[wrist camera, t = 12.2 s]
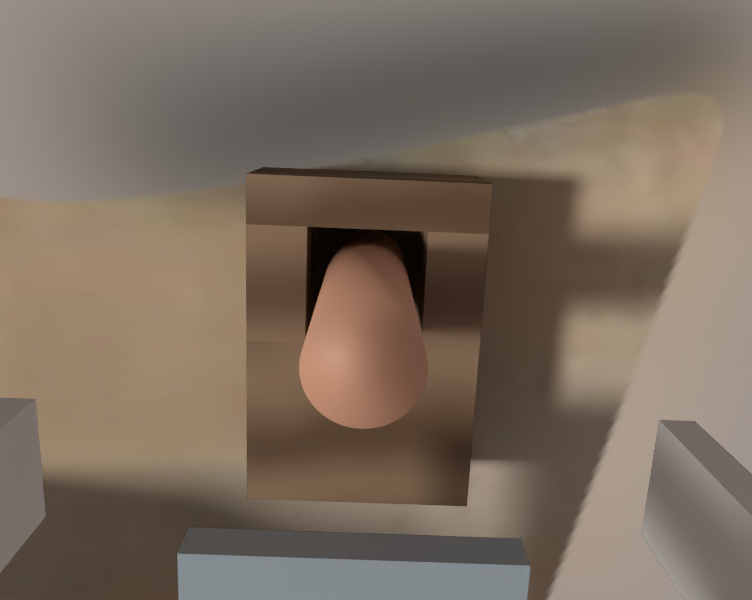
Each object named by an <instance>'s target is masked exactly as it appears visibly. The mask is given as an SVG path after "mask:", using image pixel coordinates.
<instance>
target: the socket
mask: <svg viewBox="0 0 752 600" xmlns="http://www.w3.org/2000/svg"><path fill="white" fill-rule="evenodd" d="M492 191H493V184H492V183H490V182H488V181H486V180H483V179H481V178H479V177H477V176H458V175H435V174H411V173H388V172H364V171H341V170H317V169H294V168H269V167H262V168H260V169H257V170H255V171H252V172H249V173H247V174H246V321H247V498H251V499H279V500H307V501H335V502H363V503H392V504H420V505H448V506H467V496H468V484H469V472H470V460H471V447H472V435H473V423H474V411H475V399H476V386H477V374H478V362H479V350H480V337H481V325H482V313H483V301H484V289H485V276H486V264H487V252H488V240H489V228H490V215H491V203H492ZM316 227H327V228H351V229H375V230H400V231H420V245H419V262H418V280H417V297H416V312H417V316H418V320H419V325H420V329H421V333H422V337H423V341H424V346H425V350H426V354H427V360H428V376H427V381H426V385H425V388H424V390H423V393H422V395H421V397H420V398H419V400H418V401H417V403H416V404H415V405H414V407H413V408H412V409H411V410H410V411H409V412H408V413H406V414H405V415H404V416H402V417H401V418H400V419H398V420H396V421H394V422H392V423H390V424H387V425H385V426H381V427H377V428H370V429H358V428H351V427H346V426H343V425H340V424H337V423H335V422H333V421H331V420H329V419H328V418H326V417H325V416H323V415H322V414H321V413H320V412H319V411H318V410H317V409H316V408H315V407H314V406H313V405H312V404H311V402H310V401H309V399H308V398H307V396H306V394H305V392H304V390H303V387H302V384H301V380H300V375H299V361H300V355H301V351H302V348H303V344H304V341H305V338H306V335H307V332H308V328H309V325H310V322H311V319H312V315H313V312H314V277H315V230H316Z"/></svg>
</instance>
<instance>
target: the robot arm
mask: <svg viewBox="0 0 752 600" xmlns="http://www.w3.org/2000/svg"><path fill="white" fill-rule="evenodd" d="M45 517H46V513H45V502H44V490H43V479H42V467H41V456H40V444H39V433H38V421H37V410H36V399H23V398H0V573H1V572H2V570H3V569H4V568H5V567H6V565H7V564H8V563H9V562H10V560H11V559H12V558H13V557H14V555H15V554H16V553H17V552H18V550H19V549H20V548H21V547H22V545H23V544H24V543H25V542H26V540H27V539H28V538H29V537H30V536H31V534H32V533H33V532H34V531H35V529H36V528H37V527H38V526H39V524H40V523H41V522H42V521H43V519H44V518H45ZM641 535H642V536H643V538H644V539H645V541H646V542H647V544H648V545H649V547H650V548H651V550H652V551H653V553H654V555H655V556H656V558H657V559H658V561H659V562H660V564H661V565H662V567H663V568H664V570H665V571H666V573H667V574H668V576H669V577H670V579H671V580H672V582H673V583H674V585H675V586H676V588H677V590H678V591H679V592H680V594H681V596H682V597H683V598H684V600H752V474H751V473H750V472H749V471H748V470H747V469H746V468H745V467H743V466H742V465H741V464H740V463H739V462H738V461H737V460H736V459H735V458H734V457H733V456H732V455H730V454H729V453H728V452H727V451H726V450H725V449H724V448H723V447H722V446H721V445H720V444H719V443H718V442H716V441H715V440H714V439H713V438H712V437H711V436H710V435H709V434H708V433H707V432H706V431H705V430H703V429H702V428H701V427H700V426H699V425H698V424H697V423H696V422H695V421H667V420H666V421H665V420H659V425H658V431H657V438H656V444H655V450H654V457H653V463H652V469H651V476H650V482H649V489H648V496H647V502H646V508H645V515H644V521H643V527H642V533H641Z"/></svg>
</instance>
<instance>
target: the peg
mask: <svg viewBox="0 0 752 600" xmlns="http://www.w3.org/2000/svg"><path fill="white" fill-rule="evenodd" d="M299 375H300V380H301V384H302V387H303V390H304V392H305V394H306V396H307V398H308V399H309V401H310V402H311V404H312V405H313V406H314V407H315V408H316V409H317V410H318V411H319V412H320V413H321V414H322V415H323V416H325V417H326V418H328V419H329V420H331V421H333V422H335V423H337V424H340V425H343V426H346V427H351V428H358V429H370V428H377V427H381V426H385V425H387V424H390V423H392V422H394V421H396V420H398V419H400V418H401V417H402V416H404V415H405V414H406V413H408V412H409V411H410V410H411V409H412V408H413V407H414V405H415V404H416V403H417V401H418V400H419V398H420V397H421V395H422V393H423V390H424V388H425V385H426V381H427V376H428V360H427V354H426V350H425V346H424V341H423V337H422V333H421V329H420V325H419V320H418V316H417V312H416V308H415V304H414V299H413V295H412V291H411V287H410V283H409V278H408V274H407V270H406V266H405V262H404V258H403V254H402V252H401V250H400V248H399V246H398V245H397V244H396V242H395V241H394V240H393V239H391V238H390V237H389V236H387V235H386V234H384V233H381V232H379V231H375V230H359V231H355V232H353V233H350V234H348V235H347V236H345V237H344V238H343V239H341V240H340V241H339V243H338V244H337V245H336V246H335V248H334V250H333V252H332V255H331V258H330V261H329V264H328V267H327V270H326V274H325V277H324V280H323V283H322V287H321V290H320V293H319V296H318V299H317V303H316V306H315V309H314V312H313V315H312V319H311V322H310V325H309V328H308V332H307V335H306V338H305V341H304V344H303V348H302V351H301V355H300V361H299Z"/></svg>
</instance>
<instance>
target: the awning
mask: <svg viewBox="0 0 752 600" xmlns="http://www.w3.org/2000/svg"><path fill="white" fill-rule="evenodd" d="M177 565H178V598H179V600H527V595H528V585H529V576H530V567H531V565H530V563H529V560H528V557H527V554H526V551H525V549H524V546H523V543H522V540H521V539H513V538H485V537H456V536H427V535H398V534H370V533H341V532H312V531H284V530H255V529H226V528H198V527H189V529H188V531H187V533H186V535H185V538H184V540H183V542H182V544H181V546H180V548H179V551H178V553H177Z"/></svg>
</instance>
